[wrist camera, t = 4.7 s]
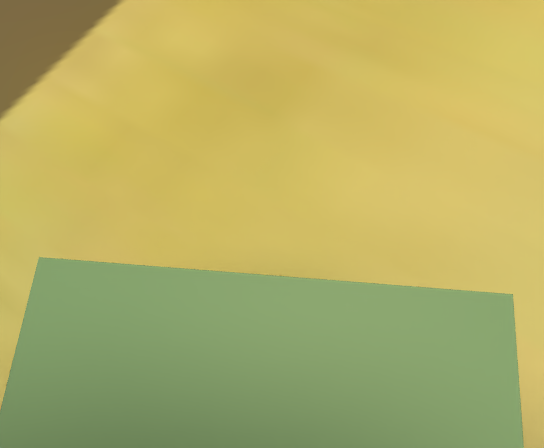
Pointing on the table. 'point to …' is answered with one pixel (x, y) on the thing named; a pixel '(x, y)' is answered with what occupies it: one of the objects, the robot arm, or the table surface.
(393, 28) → the table surface
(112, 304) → the teal block
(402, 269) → the table surface
